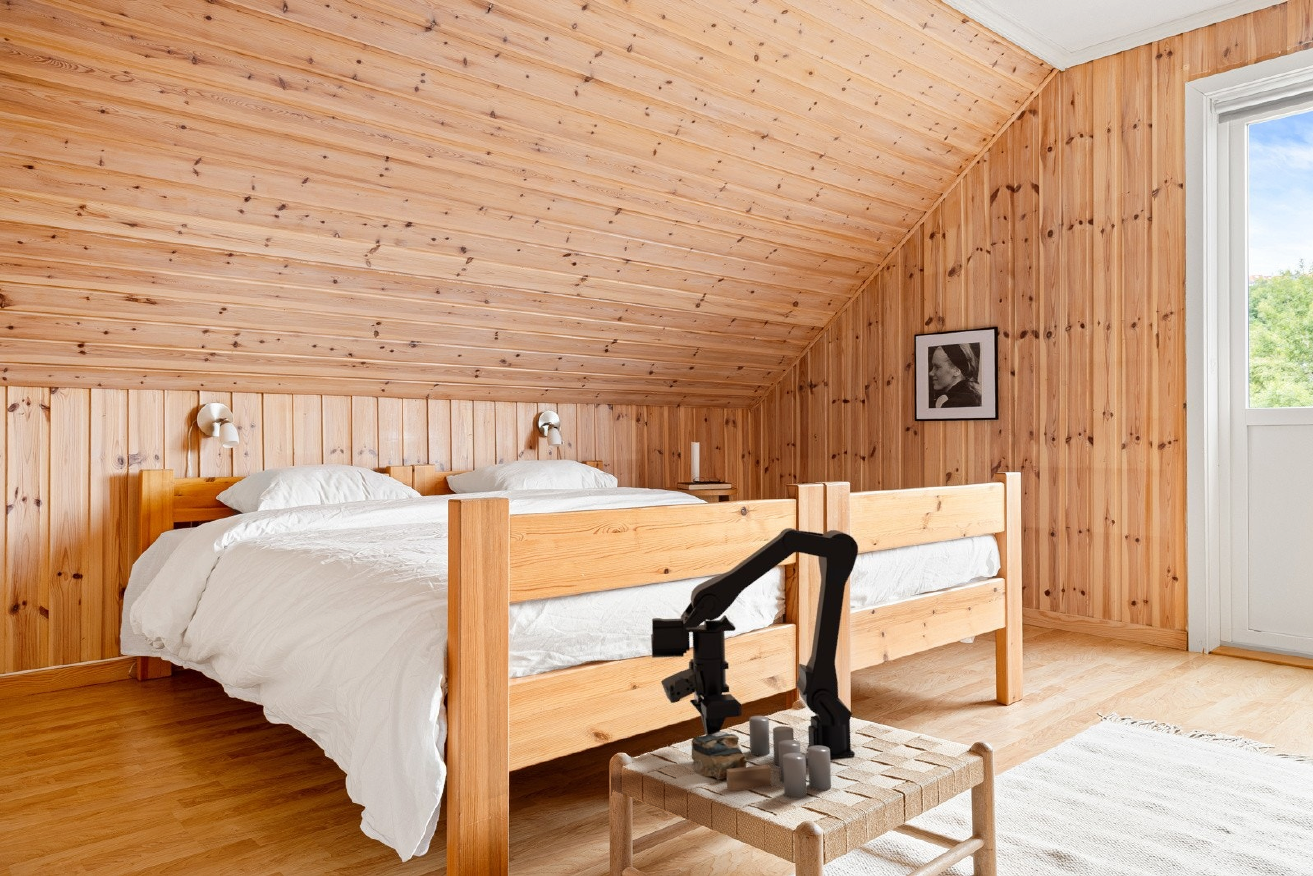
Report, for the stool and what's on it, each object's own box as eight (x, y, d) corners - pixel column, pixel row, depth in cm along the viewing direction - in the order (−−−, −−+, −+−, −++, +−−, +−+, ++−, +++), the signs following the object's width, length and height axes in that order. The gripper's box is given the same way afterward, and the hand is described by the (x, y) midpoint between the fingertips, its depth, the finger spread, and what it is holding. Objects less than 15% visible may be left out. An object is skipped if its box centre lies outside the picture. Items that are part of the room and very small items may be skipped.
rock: (721, 784, 147) (720, 749, 147) (684, 768, 154) (684, 735, 154) (759, 771, 152) (758, 737, 152) (721, 756, 160) (721, 724, 160)
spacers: (786, 745, 164) (785, 713, 164) (839, 793, 141) (838, 755, 141) (742, 750, 163) (741, 717, 163) (788, 800, 140) (787, 761, 140)
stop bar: (768, 783, 147) (767, 764, 147) (771, 786, 145) (770, 767, 145) (727, 787, 145) (726, 769, 145) (729, 791, 144) (729, 772, 144)
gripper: (654, 647, 167) (656, 730, 167) (677, 672, 149) (679, 766, 149) (711, 642, 169) (713, 725, 169) (741, 667, 151) (743, 759, 151)
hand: (711, 743), depth 159 cm, fingers closed
